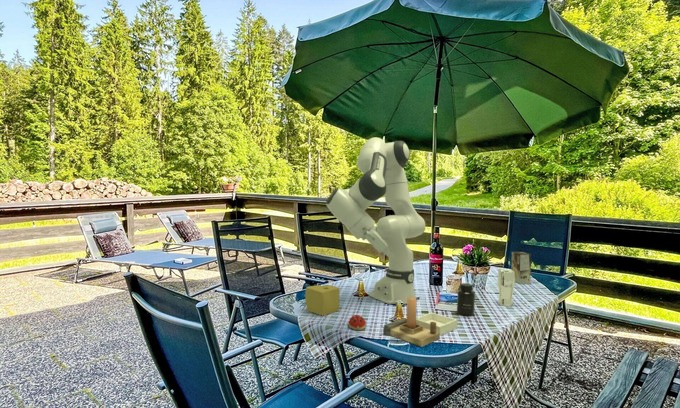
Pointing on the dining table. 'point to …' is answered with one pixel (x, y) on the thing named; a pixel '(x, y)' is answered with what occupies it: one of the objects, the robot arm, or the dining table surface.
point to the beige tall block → (506, 286)
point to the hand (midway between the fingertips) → (390, 255)
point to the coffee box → (521, 267)
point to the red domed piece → (357, 322)
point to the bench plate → (412, 332)
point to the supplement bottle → (466, 300)
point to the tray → (437, 322)
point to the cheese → (322, 299)
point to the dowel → (411, 313)
